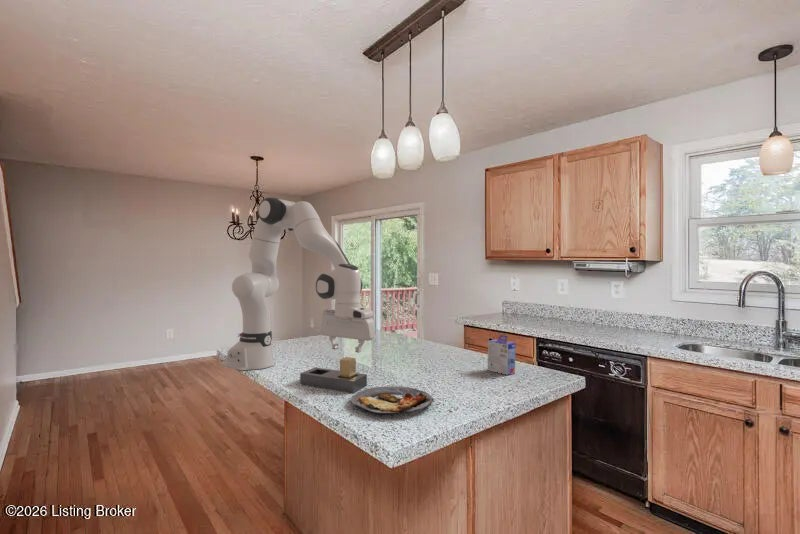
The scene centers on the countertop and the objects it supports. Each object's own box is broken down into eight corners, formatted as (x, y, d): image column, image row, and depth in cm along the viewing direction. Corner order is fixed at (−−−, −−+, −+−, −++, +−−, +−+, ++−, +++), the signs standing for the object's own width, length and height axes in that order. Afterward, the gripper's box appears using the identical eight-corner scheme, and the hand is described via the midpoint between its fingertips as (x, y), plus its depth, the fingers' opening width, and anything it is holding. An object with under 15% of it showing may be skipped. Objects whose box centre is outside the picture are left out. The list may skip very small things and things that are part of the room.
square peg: (339, 388, 140) (339, 359, 140) (345, 385, 144) (345, 357, 144) (349, 389, 138) (349, 360, 138) (355, 386, 142) (355, 358, 142)
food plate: (448, 404, 124) (447, 393, 124) (393, 427, 108) (393, 414, 108) (392, 388, 142) (391, 378, 142) (337, 405, 126) (337, 394, 126)
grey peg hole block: (300, 384, 144) (300, 373, 144) (315, 377, 152) (315, 367, 152) (353, 393, 135) (353, 381, 135) (366, 385, 143) (366, 374, 143)
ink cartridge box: (516, 373, 160) (516, 336, 160) (508, 375, 156) (508, 338, 156) (495, 368, 167) (495, 333, 167) (487, 370, 164) (487, 334, 163)
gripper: (317, 309, 142) (316, 348, 142) (368, 314, 133) (367, 356, 134) (327, 307, 148) (326, 345, 148) (377, 312, 139) (376, 352, 139)
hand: (346, 350), depth 141 cm, fingers open, 8 cm apart
